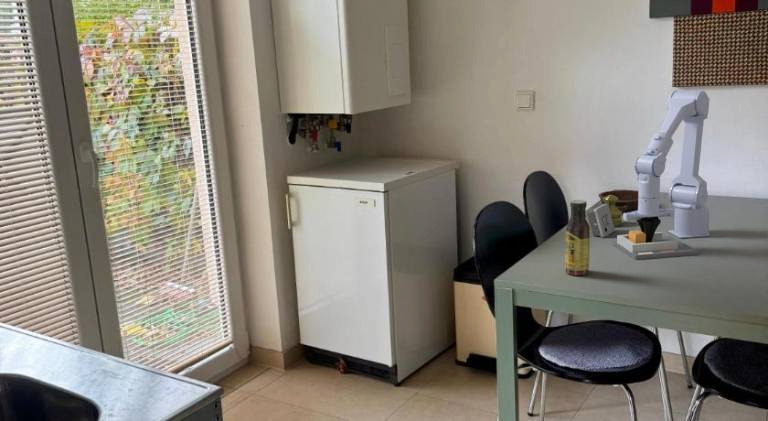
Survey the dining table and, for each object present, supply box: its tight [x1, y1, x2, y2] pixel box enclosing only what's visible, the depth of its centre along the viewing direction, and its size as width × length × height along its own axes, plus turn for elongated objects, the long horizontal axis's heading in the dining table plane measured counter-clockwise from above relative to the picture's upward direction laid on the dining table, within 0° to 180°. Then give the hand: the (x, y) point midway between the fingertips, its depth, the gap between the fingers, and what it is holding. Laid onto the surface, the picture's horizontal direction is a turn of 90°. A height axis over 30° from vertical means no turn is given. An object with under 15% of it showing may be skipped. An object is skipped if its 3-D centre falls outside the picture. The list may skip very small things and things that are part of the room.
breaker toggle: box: [628, 229, 646, 244], centre depth 207 cm, size 3×4×4 cm, turn 5°
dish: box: [598, 189, 639, 213], centre depth 259 cm, size 18×22×5 cm
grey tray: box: [612, 231, 699, 261], centre depth 208 cm, size 18×16×4 cm
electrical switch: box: [586, 204, 615, 239], centre depth 226 cm, size 9×5×9 cm, turn 141°
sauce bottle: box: [564, 199, 591, 276], centre depth 189 cm, size 7×6×20 cm
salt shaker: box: [603, 195, 623, 228], centre depth 236 cm, size 7×7×10 cm
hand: (647, 242), depth 208 cm, fingers closed
